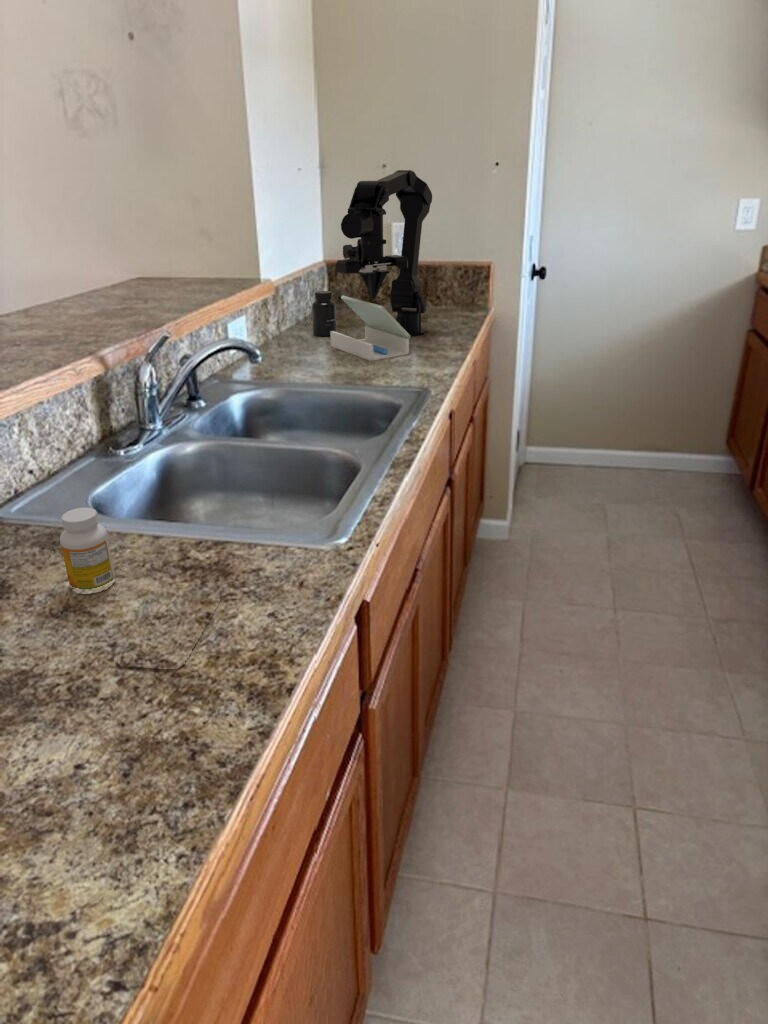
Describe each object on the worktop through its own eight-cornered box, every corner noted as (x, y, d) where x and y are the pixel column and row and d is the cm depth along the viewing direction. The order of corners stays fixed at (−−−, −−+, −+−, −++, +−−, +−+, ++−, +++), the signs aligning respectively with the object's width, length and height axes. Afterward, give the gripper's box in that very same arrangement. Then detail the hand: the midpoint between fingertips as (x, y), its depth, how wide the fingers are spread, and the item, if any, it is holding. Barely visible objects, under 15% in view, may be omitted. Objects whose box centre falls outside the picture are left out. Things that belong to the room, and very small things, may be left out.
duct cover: (369, 326, 213) (370, 324, 213) (409, 339, 198) (411, 336, 198) (340, 297, 205) (342, 295, 205) (380, 308, 190) (382, 306, 190)
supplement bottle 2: (333, 337, 218) (331, 294, 213) (310, 336, 220) (307, 293, 214) (339, 332, 224) (337, 290, 219) (316, 331, 226) (314, 289, 221)
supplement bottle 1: (77, 575, 98) (62, 505, 93) (120, 572, 98) (107, 503, 94) (65, 597, 93) (48, 525, 89) (110, 594, 93) (96, 523, 89)
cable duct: (368, 340, 214) (367, 325, 213) (409, 354, 199) (409, 338, 197) (330, 346, 208) (330, 331, 207) (370, 361, 193) (369, 345, 192)
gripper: (384, 230, 203) (385, 291, 209) (323, 235, 194) (326, 298, 200) (409, 233, 194) (409, 296, 201) (346, 238, 185) (348, 304, 192)
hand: (372, 298), depth 199 cm, fingers closed
